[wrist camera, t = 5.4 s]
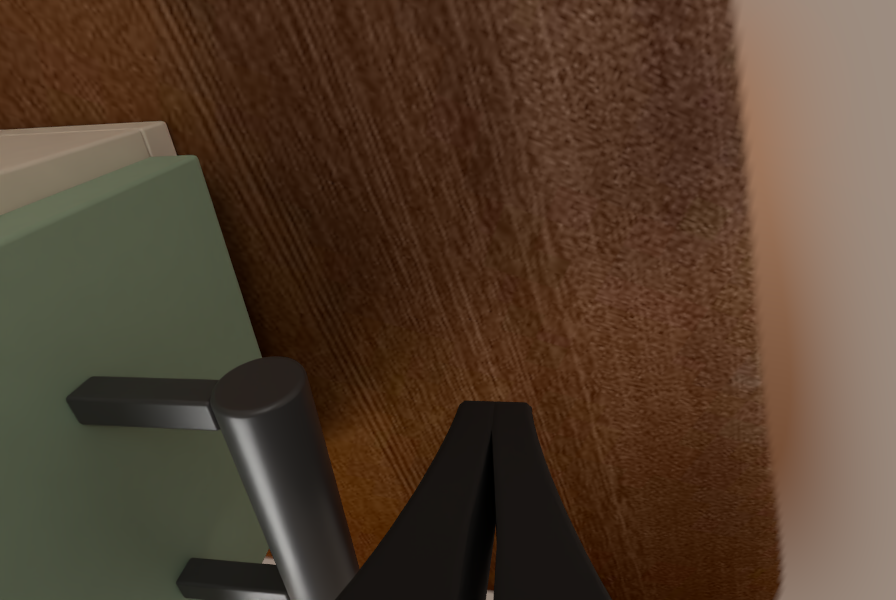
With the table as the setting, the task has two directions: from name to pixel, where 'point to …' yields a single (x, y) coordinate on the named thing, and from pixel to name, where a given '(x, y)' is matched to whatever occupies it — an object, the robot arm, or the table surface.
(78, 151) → the storage box
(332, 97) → the table surface
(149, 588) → the drawer
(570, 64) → the table surface
